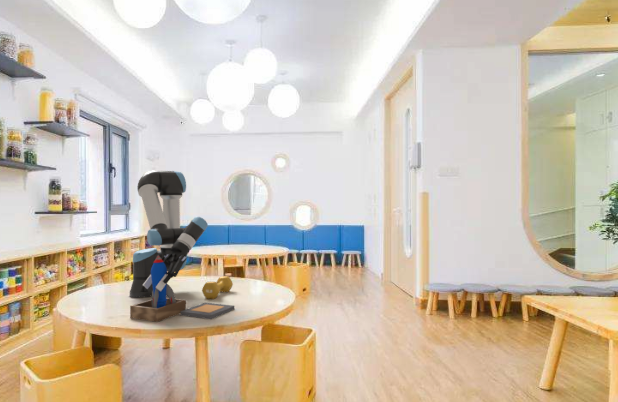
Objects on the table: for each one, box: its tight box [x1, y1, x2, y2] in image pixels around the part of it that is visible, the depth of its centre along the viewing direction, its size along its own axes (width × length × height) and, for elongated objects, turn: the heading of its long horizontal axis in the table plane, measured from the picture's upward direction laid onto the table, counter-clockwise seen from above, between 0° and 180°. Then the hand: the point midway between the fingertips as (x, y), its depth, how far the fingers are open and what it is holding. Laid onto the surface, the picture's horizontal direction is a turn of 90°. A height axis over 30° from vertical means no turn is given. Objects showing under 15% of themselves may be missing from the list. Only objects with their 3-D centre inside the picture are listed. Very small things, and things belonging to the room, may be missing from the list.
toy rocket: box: [151, 255, 177, 308], centre depth 165 cm, size 11×10×25 cm
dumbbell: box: [201, 275, 234, 300], centre depth 200 cm, size 19×9×8 cm, turn 165°
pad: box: [179, 302, 235, 320], centre depth 168 cm, size 16×16×2 cm
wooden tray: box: [129, 297, 187, 323], centre depth 165 cm, size 15×16×5 cm
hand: (151, 288), depth 162 cm, fingers open, 8 cm apart
